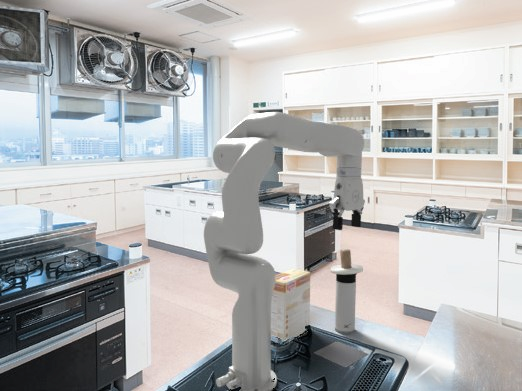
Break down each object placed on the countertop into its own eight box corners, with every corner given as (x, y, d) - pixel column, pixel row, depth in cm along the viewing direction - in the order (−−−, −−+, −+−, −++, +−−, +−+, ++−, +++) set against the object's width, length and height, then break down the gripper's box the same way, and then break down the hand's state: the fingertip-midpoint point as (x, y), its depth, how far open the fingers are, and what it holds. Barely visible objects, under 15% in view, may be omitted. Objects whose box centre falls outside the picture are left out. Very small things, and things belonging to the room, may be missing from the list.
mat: (345, 369, 106) (345, 367, 106) (313, 354, 114) (313, 352, 114) (368, 355, 113) (368, 354, 113) (336, 342, 121) (336, 340, 121)
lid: (350, 275, 120) (349, 254, 120) (324, 272, 128) (322, 252, 128) (369, 269, 127) (367, 248, 127) (343, 266, 135) (341, 246, 134)
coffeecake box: (292, 325, 134) (293, 267, 132) (310, 330, 130) (311, 271, 128) (264, 340, 122) (265, 278, 120) (284, 347, 118) (284, 283, 116)
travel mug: (350, 337, 125) (352, 274, 123) (331, 331, 129) (332, 270, 127) (358, 330, 130) (360, 270, 128) (340, 325, 134) (341, 266, 132)
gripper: (342, 174, 116) (340, 232, 117) (374, 173, 128) (372, 226, 129) (321, 173, 122) (320, 229, 123) (354, 173, 133) (352, 224, 135)
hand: (346, 228), depth 126 cm, fingers open, 9 cm apart
